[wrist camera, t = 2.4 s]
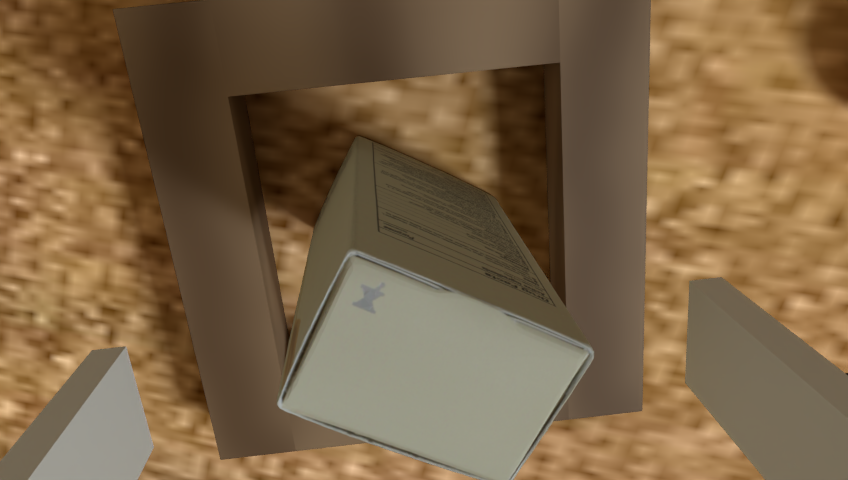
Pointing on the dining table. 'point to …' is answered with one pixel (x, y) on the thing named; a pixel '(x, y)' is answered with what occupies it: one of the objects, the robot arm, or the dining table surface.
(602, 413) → the stand
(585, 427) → the dining table surface
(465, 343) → the skincare box
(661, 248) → the dining table surface
